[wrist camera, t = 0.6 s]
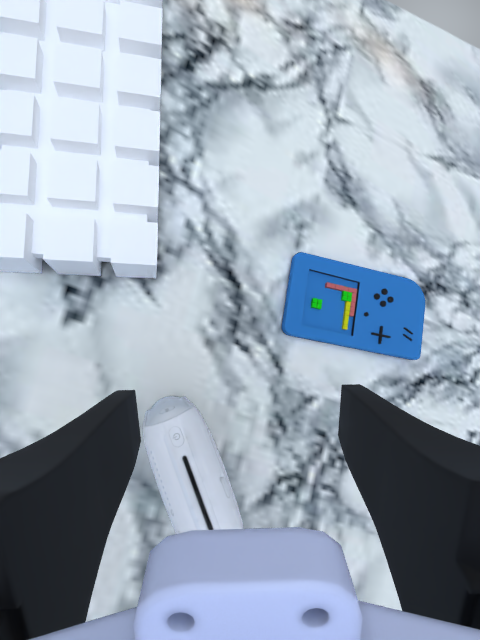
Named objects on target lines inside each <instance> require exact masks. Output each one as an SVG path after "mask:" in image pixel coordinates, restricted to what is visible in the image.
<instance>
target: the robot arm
mask: <svg viewBox="0 0 480 640" xmlns="http://www.w3.org/2000/svg"><path fill="white" fill-rule="evenodd" d="M338 436H339V440H340V443H341V447H342V450H343V454H344V457H345V460H346V462H347V465H348V467H349V469H350V471H351V474H352V476H353V478H354V480H355V482H356V485H357V487H358V489H359V491H360V493H361V495H362V498H363V500H364V502H365V504H366V506H367V508H368V511H369V513H370V515H371V517H372V520H373V522H374V525H375V527H376V529H377V532H378V535H379V538H380V541H381V544H382V547H383V550H384V553H385V556H386V559H387V562H388V565H389V568H390V572H391V575H392V578H393V581H394V584H395V587H396V591H397V594H398V597H399V601H400V604H401V607H402V611H400V610H395V609H391V608H387V607H383V606H379V605H375V604H370V603H366V602H362V601H358V599H357V596H356V592H355V589H354V586H353V583H352V579H351V576H350V573H349V570H348V566H347V563H346V560H345V557H344V553H343V550H342V547H341V545H340V544H339V543H338V542H336V541H335V540H334V539H332V538H331V537H330V536H329V535H327V534H326V533H325V532H322V531H317V530H311V529H306V528H300V527H290V528H256V529H222V530H191V531H187V532H183V533H179V534H175V535H171V536H167V537H166V538H165V539H163V540H162V541H161V542H160V543H159V544H158V545H156V546H155V547H154V548H153V549H152V550H151V551H150V554H149V558H148V563H147V567H146V571H145V576H144V580H143V584H142V589H141V593H140V597H139V602H138V606H137V607H135V608H131V609H128V610H125V611H121V612H118V613H115V614H112V615H108V616H105V617H102V618H98V619H95V620H92V621H88V622H85V621H86V616H87V612H88V608H89V604H90V600H91V596H92V592H93V588H94V584H95V580H96V577H97V573H98V569H99V565H100V562H101V558H102V555H103V551H104V547H105V544H106V540H107V537H108V534H109V531H110V528H111V525H112V523H113V520H114V518H115V515H116V513H117V510H118V508H119V505H120V503H121V500H122V498H123V495H124V493H125V490H126V488H127V485H128V482H129V480H130V477H131V475H132V472H133V470H134V467H135V463H136V459H137V455H138V451H139V447H140V442H141V437H140V429H139V420H138V411H137V403H136V394H135V390H119V391H116V392H114V393H112V394H111V395H109V396H108V397H106V398H105V399H103V400H102V401H100V402H99V403H98V404H96V405H95V406H93V407H92V408H90V409H89V410H88V411H86V412H85V413H83V414H82V415H80V416H79V417H77V418H76V419H74V420H73V421H71V422H69V423H68V424H66V425H65V426H63V427H61V428H60V429H58V430H57V431H55V432H53V433H52V434H50V435H48V436H46V437H44V438H43V439H41V440H39V441H37V442H35V443H33V444H31V445H29V446H27V447H25V448H23V449H21V450H18V451H16V452H14V453H12V454H9V455H7V456H5V457H2V458H0V640H480V446H479V445H476V444H473V443H470V442H468V441H465V440H463V439H460V438H458V437H455V436H453V435H451V434H448V433H446V432H444V431H442V430H439V429H437V428H435V427H433V426H431V425H429V424H427V423H425V422H423V421H421V420H419V419H417V418H416V417H414V416H412V415H410V414H408V413H407V412H405V411H403V410H401V409H400V408H398V407H396V406H395V405H393V404H391V403H390V402H388V401H387V400H385V399H383V398H382V397H380V396H379V395H377V394H375V393H374V392H372V391H370V390H369V389H367V388H365V387H364V386H362V385H359V384H357V385H342V389H341V403H340V417H339V431H338Z"/></svg>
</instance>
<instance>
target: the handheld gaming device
mask: <svg viewBox="0 0 480 640" xmlns="http://www.w3.org/2000/svg"><path fill="white" fill-rule="evenodd" d="M424 312H425V298H424V294H423V292H422V290H421V288H420V287H419V286H418V285H417V284H416V283H415V282H414V281H412V280H410V279H407V278H404V277H399V276H395V275H391V274H387V273H383V272H379V271H375V270H371V269H367V268H363V267H359V266H355V265H351V264H347V263H343V262H339V261H335V260H331V259H327V258H323V257H319V256H315V255H311V254H307V253H303V252H299V253H297V254H296V255H294V256H293V258H292V262H291V269H290V275H289V282H288V288H287V295H286V301H285V308H284V315H283V321H282V330H283V332H284V333H285V334H286V335H289V336H294V337H299V338H304V339H309V340H314V341H319V342H324V343H329V344H334V345H339V346H344V347H349V348H354V349H359V350H364V351H369V352H374V353H379V354H384V355H389V356H394V357H399V358H404V359H409V360H417V359H419V358H420V354H421V344H422V333H423V323H424Z"/></svg>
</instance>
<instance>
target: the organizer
mask: <svg viewBox="0 0 480 640" xmlns="http://www.w3.org/2000/svg"><path fill="white" fill-rule="evenodd" d="M162 2H163V0H0V271H1V272H23V273H42V260H44V261H45V262H46V263H47V264H48V265H50V266H51V267H52V268H53V269H54V270H55V271H56V272H57V273H58V274H67V275H90V276H101V261H102V262H111V265H112V267H113V270H114V272H115V275H116V277H134V278H156V274H157V241H158V194H159V147H160V99H161V51H162Z"/></svg>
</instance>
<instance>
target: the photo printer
mask: <svg viewBox="0 0 480 640" xmlns="http://www.w3.org/2000/svg"><path fill="white" fill-rule="evenodd" d="M143 437H144V443H145V448H146V451H147V455H148V458H149V461H150V464H151V468H152V471H153V474H154V477H155V480H156V483H157V486H158V489H159V491H160V494H161V497H162V500H163V503H164V505H165V508H166V511H167V513H168V516H169V518H170V521H171V523H172V526H173V528H174V531H175V533H176V534H179V533H183V532H187V531H191V530H222V529H243V522H242V518H241V514H240V511H239V508H238V504H237V501H236V498H235V495H234V492H233V489H232V486H231V483H230V481H229V478H228V475H227V472H226V469H225V467H224V464H223V462H222V459H221V456H220V454H219V451H218V449H217V446H216V444H215V441H214V439H213V437H212V434H211V432H210V430H209V428H208V427H207V424H206V422H205V420H204V419H203V417H202V415H201V413H200V412H199V410H198V409H197V408H196V406H195V405H194V404H193V403H192V402H190V401H189V400H188V399H187V398H186V397H185V396H183V397H181V398H179V397H175V396H169V397H164V398H162V399H160V400H158V401H157V402H156V403H155V404H154V405H153V406H152V408H151V409H150V410H148V411H146V413H145V417H144V422H143Z"/></svg>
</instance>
